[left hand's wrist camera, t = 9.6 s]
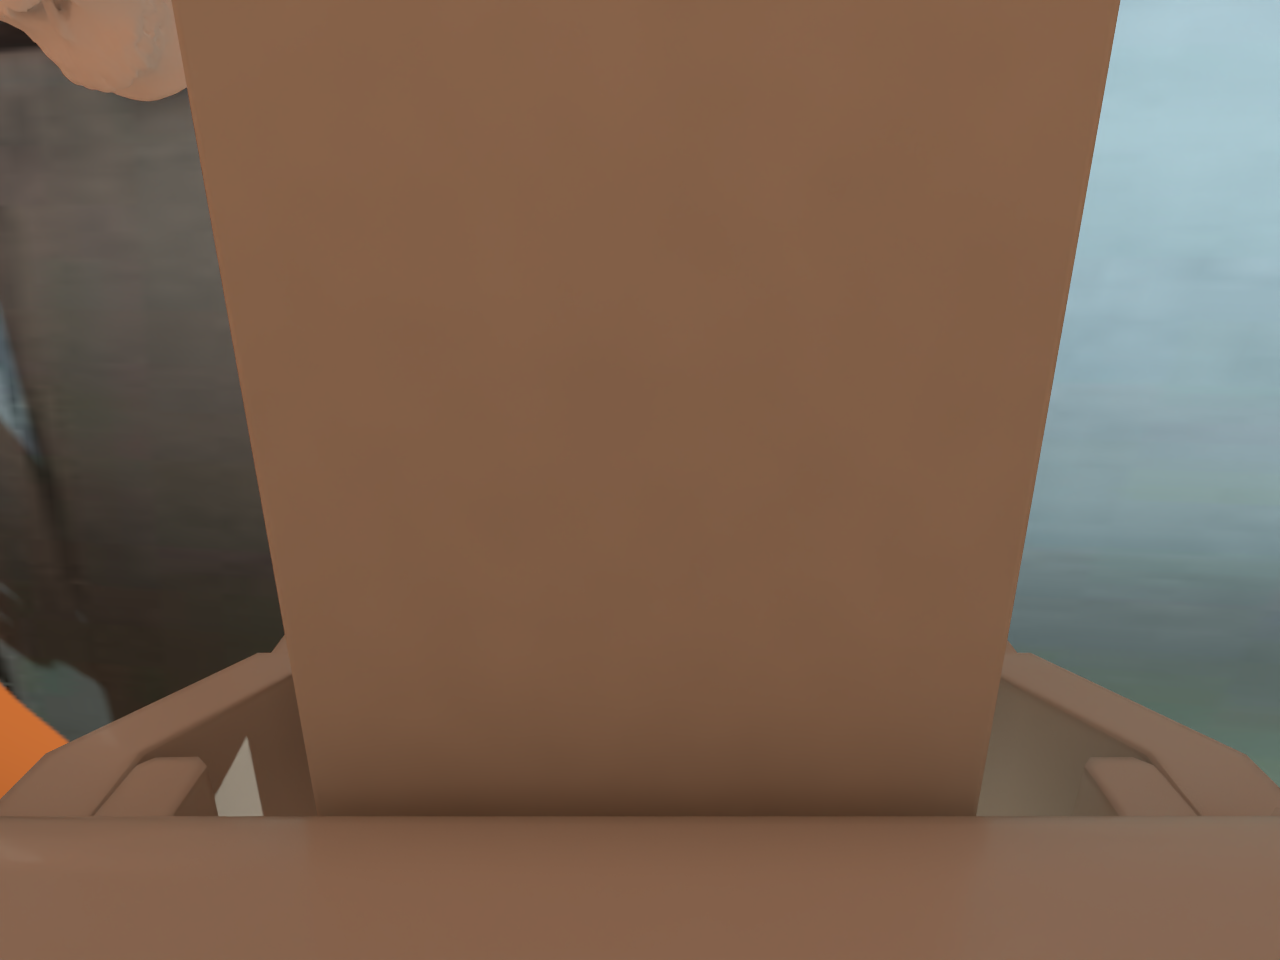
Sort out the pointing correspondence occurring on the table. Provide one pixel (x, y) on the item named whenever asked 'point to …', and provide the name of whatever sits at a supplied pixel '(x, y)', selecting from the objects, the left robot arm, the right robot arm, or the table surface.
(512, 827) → the left robot arm
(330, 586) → the beam
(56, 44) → the skull bowl
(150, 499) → the table surface
